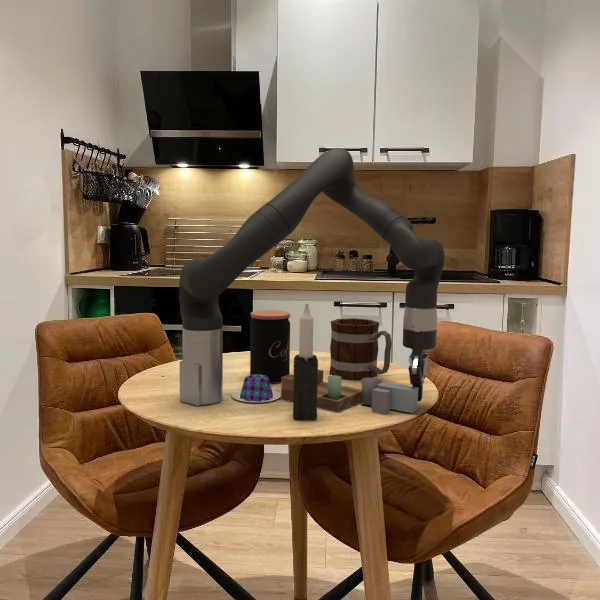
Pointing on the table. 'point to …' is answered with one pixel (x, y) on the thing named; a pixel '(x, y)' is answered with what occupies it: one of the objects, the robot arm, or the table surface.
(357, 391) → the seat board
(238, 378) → the table surface
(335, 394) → the dowel leg
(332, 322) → the mug
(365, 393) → the hinged leg
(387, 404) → the block
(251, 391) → the pudding
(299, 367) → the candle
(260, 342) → the coffee jar
